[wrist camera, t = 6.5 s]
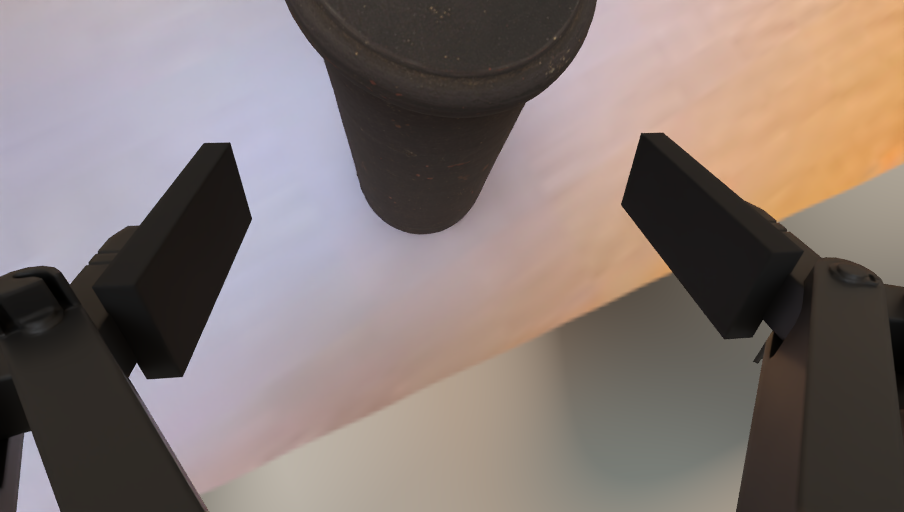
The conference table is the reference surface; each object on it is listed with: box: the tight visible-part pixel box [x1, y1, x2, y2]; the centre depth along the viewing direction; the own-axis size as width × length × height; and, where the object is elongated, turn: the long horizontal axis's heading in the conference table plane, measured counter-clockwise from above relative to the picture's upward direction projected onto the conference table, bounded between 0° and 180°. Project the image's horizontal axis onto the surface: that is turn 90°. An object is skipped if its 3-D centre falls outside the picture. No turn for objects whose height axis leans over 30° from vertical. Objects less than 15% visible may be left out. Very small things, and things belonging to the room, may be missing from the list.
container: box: [285, 0, 597, 234], centre depth 21 cm, size 9×9×20 cm
